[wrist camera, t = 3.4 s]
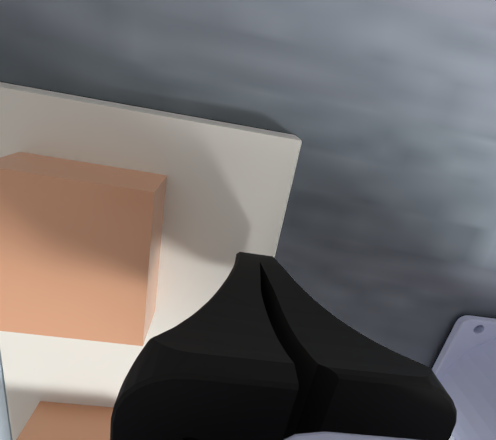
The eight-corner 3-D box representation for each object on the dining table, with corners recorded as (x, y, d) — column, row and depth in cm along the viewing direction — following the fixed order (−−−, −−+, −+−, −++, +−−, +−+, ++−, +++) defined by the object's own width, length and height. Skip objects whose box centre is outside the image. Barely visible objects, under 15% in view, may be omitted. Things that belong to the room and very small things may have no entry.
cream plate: (294, 134, 13) (301, 140, 11) (216, 482, 21) (215, 510, 19) (-4, 81, 12) (-37, 80, 10) (35, 470, 20) (20, 499, 18)
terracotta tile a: (167, 175, 12) (154, 192, 10) (155, 311, 14) (143, 346, 12) (19, 151, 11) (-24, 164, 9) (31, 296, 13) (-2, 330, 12)
